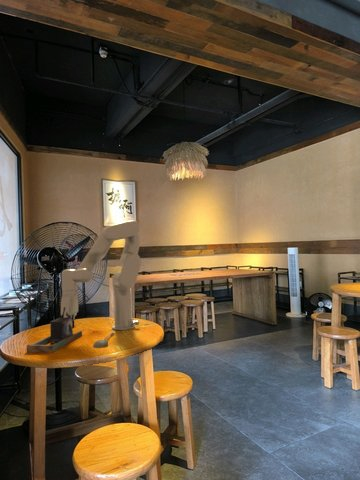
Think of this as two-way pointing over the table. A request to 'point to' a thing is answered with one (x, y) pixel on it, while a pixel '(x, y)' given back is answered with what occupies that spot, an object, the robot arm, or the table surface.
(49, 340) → the chute
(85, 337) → the table surface
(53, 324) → the small box
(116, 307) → the robot arm
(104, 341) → the soupspoon
